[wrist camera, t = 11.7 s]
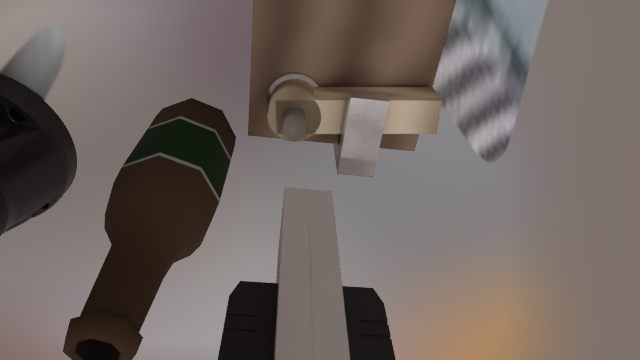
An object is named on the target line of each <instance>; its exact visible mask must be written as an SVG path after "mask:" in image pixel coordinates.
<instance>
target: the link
mask: <svg viewBox="0 0 640 360" xmlns="http://www.w3.org/2000/svg"><path fill="white" fill-rule="evenodd" d="M349 90H351V91H361V92H370V93H379V94H387V97H388V99H389V101H390V103H389V107H388V111H387V116H386V120H385V125H384V129H383V133H382V134H436V131H437V126H438V120H439V115H440V109H441V104H442V100H441V98H440V97H439V96H438V94H437V93H436V91H435V90H434V88H433V87H313V86H312V85H311V84H309V83H308V82H306V81H303V80H300V79H289V80H286V81H283V82H281V83H280V84H278V85H277V86H276V87H275V88H274V90H273V91H272V93H271V96H270V101H269V108H268V115H267V118H268V123H269V126H270V128H271V129H272V131H273V132H274V133H275V134H276V135H277V136H279V137H280V138H282V139H285V140H288V141H302V140H305V139H307V138H309V137H311V136H312V135H313V134H342V128H343V122H344V116H345V111H346V105H347V99H348V93H349Z"/></svg>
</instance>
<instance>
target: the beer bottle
mask: <svg viewBox="0 0 640 360" xmlns="http://www.w3.org/2000/svg"><path fill="white" fill-rule="evenodd" d="M235 139H236V137H235V135H234V133H233V131H232V129H231V127H230V125H229V123H228V121H227V119H226V117H225V115H224V113H223V111H221V110H219V109H217V108H214V107H212V106H210V105H207V104H205V103H202V102H200V101H197V100H195V99H192V98H191V99H188V100H186V101H182V102H180V103H177V104H174V105H171V106H169V107H166V108H163V109H162V110H161V111H160V112H159V114H158V115H157V116H156V117H155V119H154V120H153V122H152V123H151V125H150V126H149V128H148V129H147V131H146V132H145V134H144V135H143V137H142V138H141V140H140V141H139V143H138V144H137V146H136V147H135V148H134V150H133V151H132V153H131V154H130V156H129V157H128V159H127V160H126V162H125V163H124V165H123V167H122V168H121V170H120V172H119V174H118V176H117V178H116V180H115V182H114V184H113V188H112V191H111V195H110V199H109V202H108V205H107V209H106V213H105V230H106V232H107V235H108V237H109V239H110V242H111V244H112V245H111V248H110V251H109V253H108V255H107V257H106V259H105V262H104V264H103V266H102V268H101V270H100V273H99V275H98V277H97V279H96V282H95V284H94V286H93V288H92V290H91V293H90V295H89V297H88V299H87V302H86V304H85V306H84V308H83V311H82V313H81V315H80V317H76V318H73V319H71V320H70V323H69V327H68V331H67V335H66V339H65V345H64V349H63V352H64V353H65V354H66V355H67V356H68V357H70V358H71V359H72V360H132V359H133V357H134V356H135V355H136V353H137V351H138V348H139V346H140V343H141V341H142V338H143V337H142V336H141V335H140V334H139V331H140V329H141V326H142V324H143V322H144V320H145V318H146V316H147V313H148V311H149V309H150V307H151V305H152V302H153V300H154V298H155V296H156V293H157V291H158V289H159V287H160V285H161V282H162V280H163V278H164V277H165V275H166V273H167V272H168V270H169V269H170V267H171V266H172V264H173V263H174V262H177V261H179V260H181V259H183V258H185V257H188V256H190V255H191V254H192V253H193V252H194V251H195V250H196V249H197V248H198V247H199V246H200V245H201V243H202V241H203V239H204V236H205V234H206V232H207V230H208V227H209V225H210V223H211V221H212V218H213V216H214V213H215V211H216V208H217V206H218V204H219V201H220V197H221V194H222V190H223V186H224V183H225V179H226V175H227V172H228V168H229V164H230V161H231V157H232V153H233V150H234V146H235Z"/></svg>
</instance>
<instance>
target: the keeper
mask: <svg viewBox="0 0 640 360" xmlns="http://www.w3.org/2000/svg"><path fill="white" fill-rule="evenodd" d="M289 79H300V80H303V81H306V82H308V83H309V84H311V85H312V86H313V87H319V85H318V84H317V82H316V81H315V80H314V79H312V78H311V77H309V76H308V75H305V74H302V73H296V72H292V73H286V74H283V75H281V76H279V77H278V78H277V79H275V80H274V81H273V83H272V84H271V85H270V87H269V89H268V93H267V99H266V103H267V108H269V101H270V96H271V93H272V91H273V90H274V88H275V87H276V86H277V85H278V84H280V83H281V82H283V81H286V80H289ZM389 103H390V101H389V99H388V97H387V94H379V93H370V92H361V91H351V90H349V93H348V99H347V105H346V111H345V116H344V122H343V128H342V134H334V139H333V144H334V151H335V159H336V166H337V173H338V174H346V175H357V176H369V177H373V173H374V169H375V164H376V160H377V155H378V151H379V147H380V142H381V138H382V133H383V129H384V125H385V120H386V116H387V111H388V107H389Z"/></svg>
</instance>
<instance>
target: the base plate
mask: <svg viewBox="0 0 640 360" xmlns="http://www.w3.org/2000/svg"><path fill="white" fill-rule="evenodd" d="M455 3H456V0H254V5H253V6H254V7H253V30H252V55H251V79H250V102H249V103H250V104H249V127H248V135H250V136H261V137H271V138H280V137H279V136H277V135H276V134H275V133H274V132H273V131H272V129H271V128H270V126H269V123H268V118H267V115H268V108H267V103H266V99H267V93H268V89H269V87H270V85H271V84H272V83H273V81H274V80H275V79H277V78H278V77H279V76H281V75H283V74H286V73H292V72H296V73H302V74H305V75H308V76H309V77H311V78H312V79H314V80H315V81H316V82H317V84H318V85H319V87H432V85H433V82H434V78H435V75H436V71H437V67H438V64H439V60H440V57H441V53H442V49H443V46H444V42H445V39H446V35H447V31H448V28H449V24H450V21H451V17H452V13H453V10H454V6H455ZM418 136H419V134H382V138H381V142H380V147H379V148H387V149H398V150H408V151H414V150H415V147H416V143H417V140H418ZM333 139H334V134H313V135H312V136H311V137H309V138H307V139H305V140H303V141H314V142H325V143H333Z"/></svg>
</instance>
